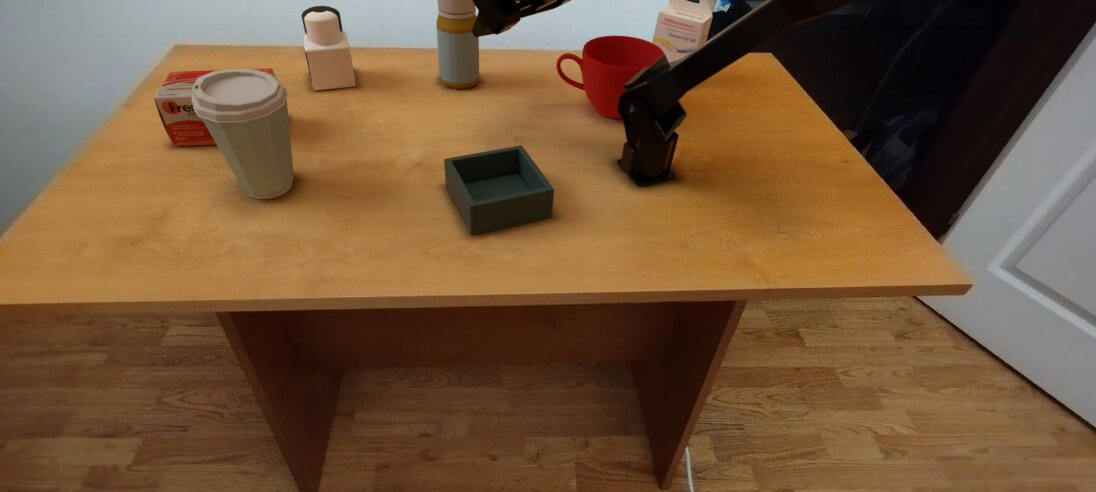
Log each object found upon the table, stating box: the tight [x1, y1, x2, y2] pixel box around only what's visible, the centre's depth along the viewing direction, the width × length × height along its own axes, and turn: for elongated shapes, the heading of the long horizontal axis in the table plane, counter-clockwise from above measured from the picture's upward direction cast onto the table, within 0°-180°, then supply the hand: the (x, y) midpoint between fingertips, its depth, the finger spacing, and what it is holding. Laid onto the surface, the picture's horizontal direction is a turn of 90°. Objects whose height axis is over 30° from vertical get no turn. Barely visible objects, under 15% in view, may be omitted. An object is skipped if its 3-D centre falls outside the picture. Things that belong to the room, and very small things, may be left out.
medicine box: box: [153, 67, 276, 147], centre depth 85 cm, size 15×8×8 cm, turn 99°
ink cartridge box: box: [651, 0, 717, 63], centre depth 103 cm, size 9×5×15 cm, turn 58°
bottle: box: [436, 0, 480, 90], centre depth 98 cm, size 7×7×15 cm
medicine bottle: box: [301, 5, 356, 91], centre depth 97 cm, size 7×7×12 cm
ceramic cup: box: [555, 35, 664, 120], centre depth 94 cm, size 13×17×10 cm
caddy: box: [443, 144, 555, 236], centre depth 76 cm, size 11×11×4 cm
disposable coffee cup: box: [192, 67, 295, 200], centre depth 73 cm, size 11×11×15 cm
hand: (493, 25), depth 85 cm, fingers open, 9 cm apart
